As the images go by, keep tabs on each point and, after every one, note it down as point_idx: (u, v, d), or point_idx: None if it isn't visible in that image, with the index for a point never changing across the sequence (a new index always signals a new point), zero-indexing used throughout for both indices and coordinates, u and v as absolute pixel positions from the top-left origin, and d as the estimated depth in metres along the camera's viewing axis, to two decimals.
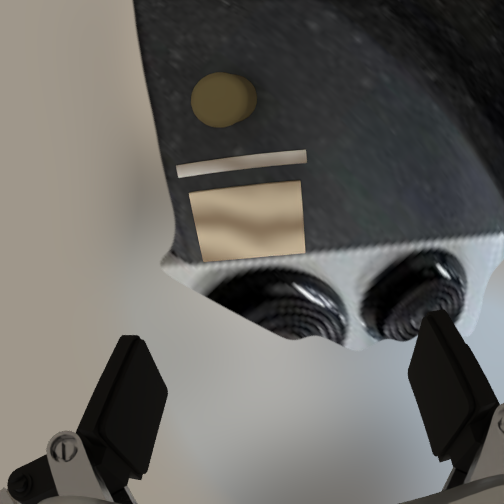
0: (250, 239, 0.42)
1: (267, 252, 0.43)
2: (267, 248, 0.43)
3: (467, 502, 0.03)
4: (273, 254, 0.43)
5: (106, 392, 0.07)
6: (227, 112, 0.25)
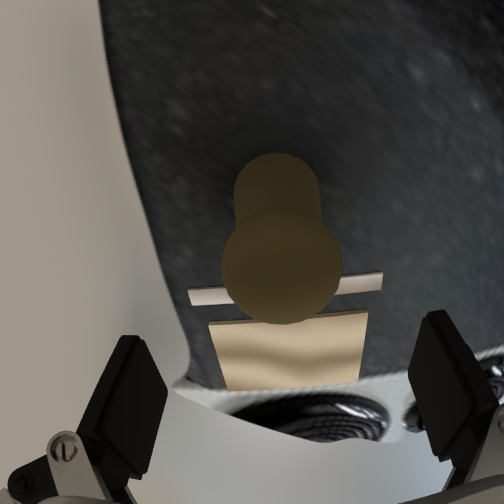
0: (290, 373, 0.30)
1: (311, 383, 0.31)
2: (312, 380, 0.31)
3: (467, 502, 0.03)
4: (318, 384, 0.31)
5: (106, 392, 0.07)
6: (302, 311, 0.13)
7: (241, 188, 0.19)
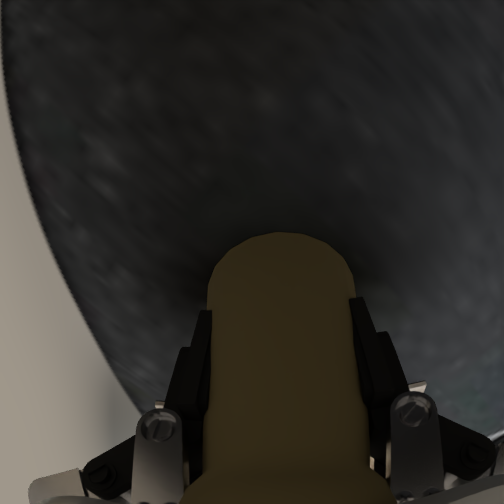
0: None
1: None
2: None
3: (467, 502, 0.03)
4: None
5: (200, 364, 0.08)
6: None
7: (214, 319, 0.10)
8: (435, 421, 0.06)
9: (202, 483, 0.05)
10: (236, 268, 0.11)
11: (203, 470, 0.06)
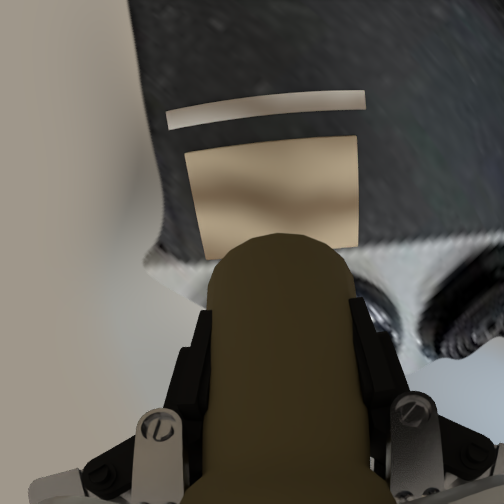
0: (278, 226, 0.27)
1: None
2: None
3: (467, 502, 0.03)
4: None
5: (200, 364, 0.08)
6: None
7: (214, 320, 0.10)
8: (436, 421, 0.06)
9: (202, 485, 0.05)
10: (236, 269, 0.11)
11: (203, 472, 0.06)
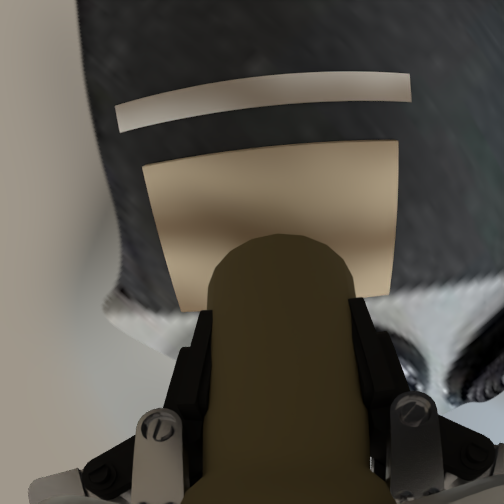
0: None
1: None
2: None
3: (467, 502, 0.03)
4: None
5: (199, 364, 0.08)
6: None
7: (214, 321, 0.10)
8: (436, 421, 0.06)
9: (202, 486, 0.05)
10: (236, 270, 0.11)
11: (203, 472, 0.06)
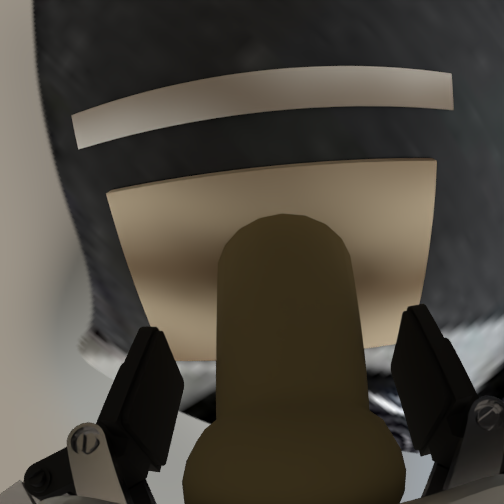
0: None
1: None
2: None
3: (467, 502, 0.03)
4: None
5: (128, 382, 0.08)
6: None
7: (226, 287, 0.11)
8: None
9: (219, 421, 0.06)
10: (245, 244, 0.12)
11: (217, 419, 0.07)
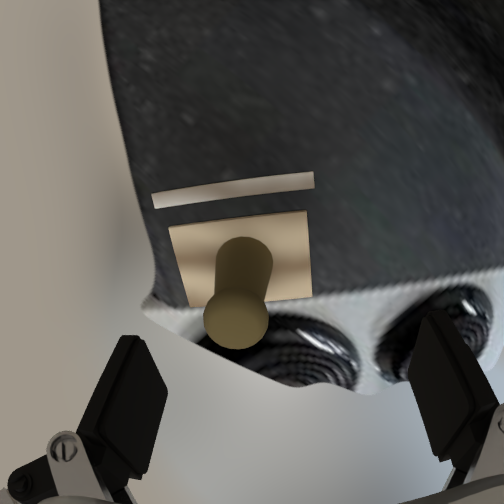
0: None
1: (266, 296, 0.35)
2: (266, 292, 0.35)
3: (467, 502, 0.03)
4: (273, 299, 0.35)
5: (106, 392, 0.07)
6: (245, 342, 0.24)
7: (218, 264, 0.30)
8: None
9: (214, 294, 0.25)
10: (226, 248, 0.31)
11: None
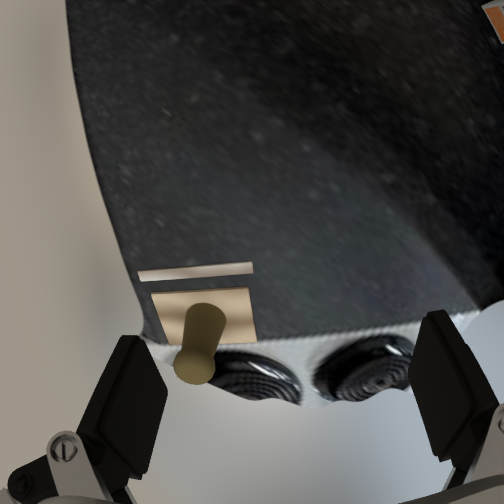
0: None
1: (223, 340, 0.47)
2: (223, 338, 0.47)
3: (467, 502, 0.03)
4: (228, 342, 0.47)
5: (106, 392, 0.07)
6: (199, 382, 0.36)
7: (185, 324, 0.42)
8: None
9: (180, 350, 0.37)
10: (191, 312, 0.43)
11: None
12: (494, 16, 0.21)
